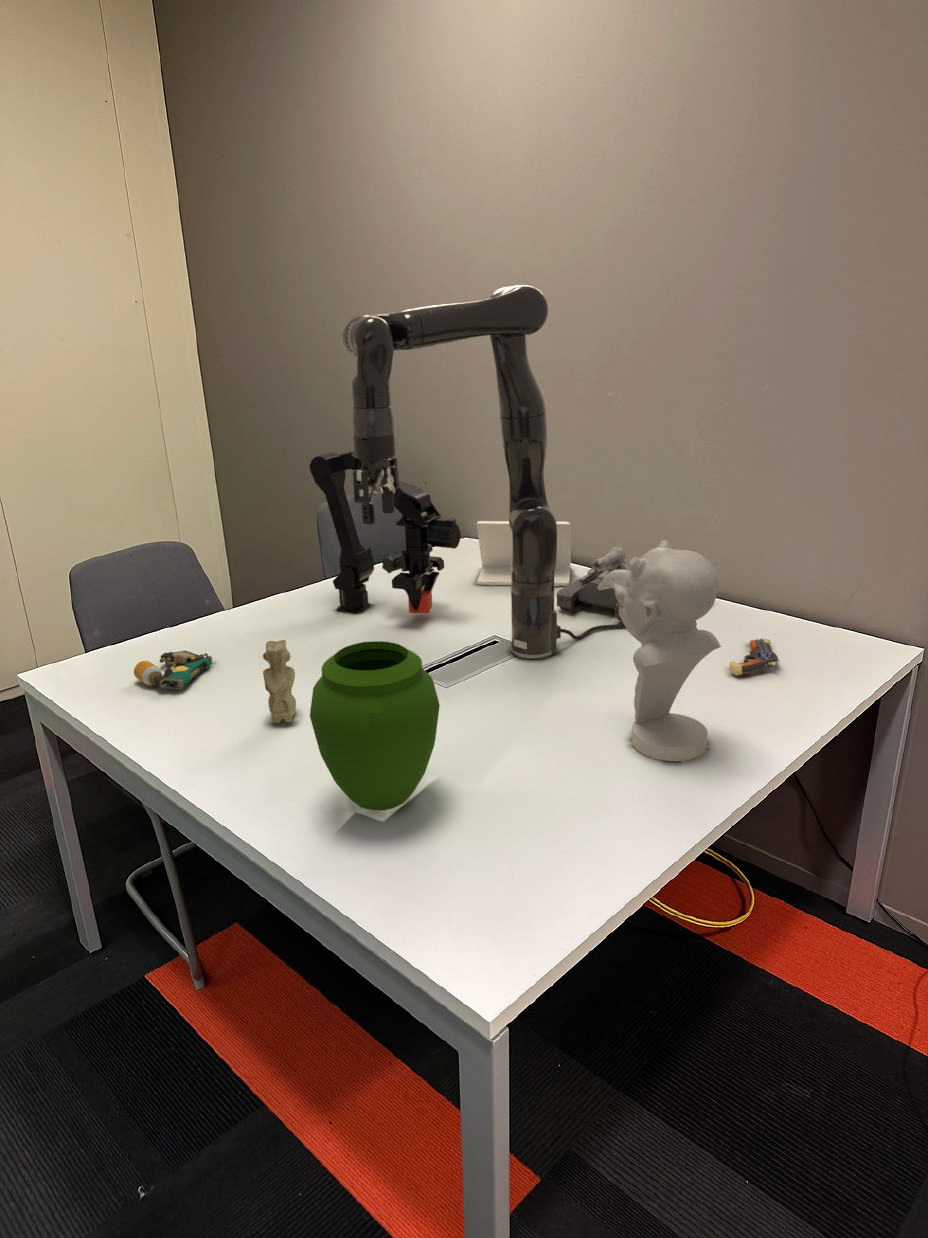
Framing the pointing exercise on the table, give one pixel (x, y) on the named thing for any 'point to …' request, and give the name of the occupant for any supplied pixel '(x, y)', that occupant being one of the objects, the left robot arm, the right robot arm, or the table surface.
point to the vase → (375, 722)
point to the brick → (423, 603)
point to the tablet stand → (500, 553)
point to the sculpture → (279, 681)
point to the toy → (594, 585)
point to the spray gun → (172, 669)
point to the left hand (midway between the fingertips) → (420, 605)
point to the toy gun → (756, 658)
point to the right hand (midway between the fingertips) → (379, 518)
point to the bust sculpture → (666, 643)
